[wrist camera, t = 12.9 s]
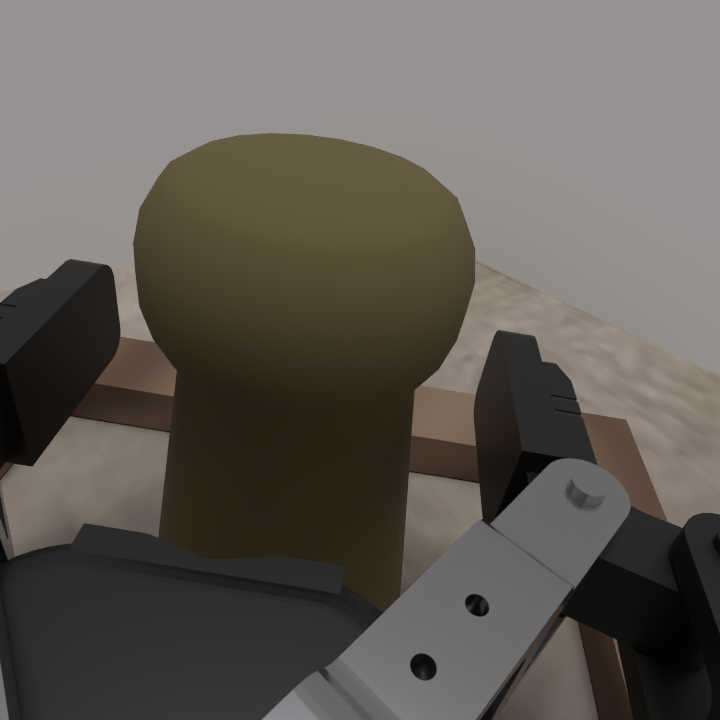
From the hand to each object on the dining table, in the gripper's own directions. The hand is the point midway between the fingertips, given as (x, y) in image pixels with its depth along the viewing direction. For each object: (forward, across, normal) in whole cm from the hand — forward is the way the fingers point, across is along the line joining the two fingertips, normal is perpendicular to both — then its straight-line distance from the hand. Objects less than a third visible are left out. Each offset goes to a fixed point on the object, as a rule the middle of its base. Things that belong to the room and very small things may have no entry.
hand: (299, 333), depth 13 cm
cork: (-2, 0, +7) cm, 7 cm away
